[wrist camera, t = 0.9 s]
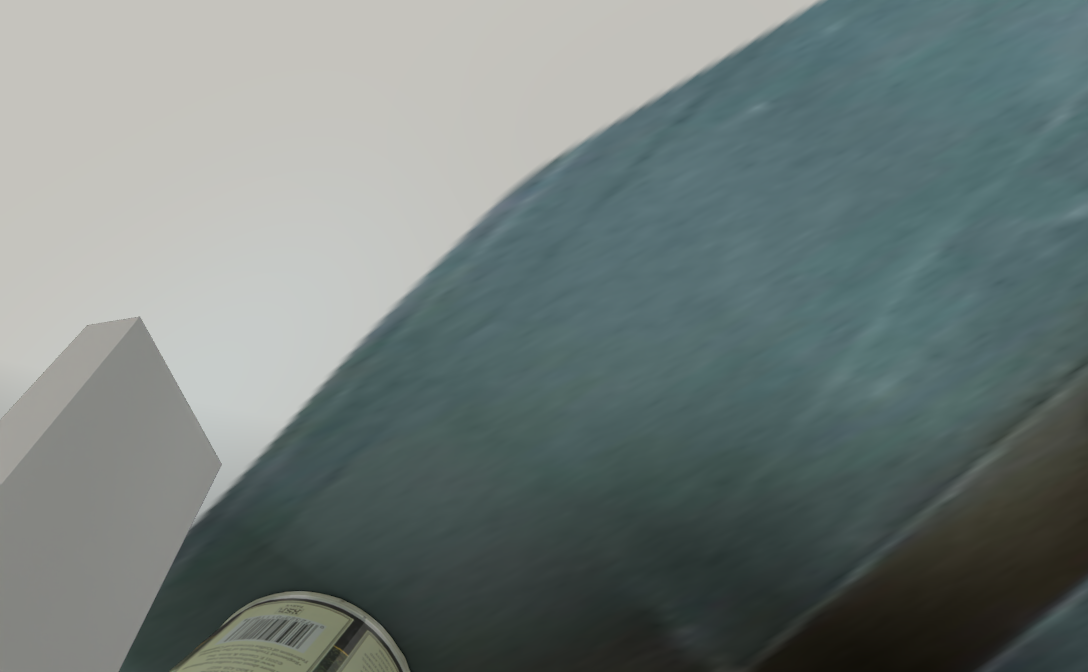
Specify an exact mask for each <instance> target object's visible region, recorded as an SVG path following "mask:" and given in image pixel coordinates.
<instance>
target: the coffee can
mask: <svg viewBox="0 0 1088 672" xmlns="http://www.w3.org/2000/svg"><path fill="white" fill-rule="evenodd" d="M169 672H410V669H409V667H408V664H407V661H406V658H405V657H404V655H403V653H402V652H401V651H400V649H399V648H398V646H397V645H396V643H395V642H394V640H393V639H392V637H391V636H390V635H389V634H388V633H387V631H386V630H385V629H384V628H383V627H382V626H381V625H380V624H379V623H378V622H377V621H376V620H375V619H373V618H372V617H371V616H370V615H369V614H367V613H366V612H364V611H363V610H361V609H360V608H358V607H356V606H355V605H353V604H351V603H349V602H347V601H345V600H343V599H341V598H336V597H333V596H329V595H325V594H321V593H316V592H307V591H290V592H282V593H277V594H273V595H269V596H266V597H263V598H259V599H256V600H254V601H253V602H251V603H249V604H247V605H246V606H244V607H243V608H241V609H239V610H238V611H237V612H235V613H234V614H233V615H232V616H231V617H230V618H229V619H228V620H226V621H225V622H224V624H223V625H222V626H221V627H220V628H219V629H218V630H217V631H215V632H214V633H213V634H212V635H211V636H210V637H209V638H207V639H206V640H204V641H203V642H202V643H201V644H200V645H199V646H198V647H197V648H196V649H195V650H194V651H192V652H191V653H190V654H189V655H188V656H186V657H185V658H184V659H183V660H182V661H180V662H179V663H178V664H177V665H176V666H175V667H173V668H172V669H171V670H170V671H169Z"/></svg>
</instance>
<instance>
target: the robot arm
mask: <svg viewBox="0 0 1088 672" xmlns="http://www.w3.org/2000/svg"><path fill="white" fill-rule="evenodd" d="M220 467H221V462H220V460H219V458H218V457H217V455H216V453H215V451H214V449H213V448H212V446H211V444H210V442H209V441H208V439H207V437H206V435H205V433H204V432H203V430H202V428H201V426H200V424H199V422H198V421H197V419H196V417H195V415H194V413H193V412H192V410H191V408H190V406H189V404H188V403H187V401H186V399H185V397H184V395H183V394H182V392H181V390H180V388H179V386H178V385H177V383H176V381H175V379H174V377H173V375H172V374H171V372H170V370H169V368H168V367H167V365H166V363H165V361H164V359H163V357H162V356H161V354H160V352H159V350H158V349H157V347H156V345H155V343H154V341H153V339H152V338H151V336H150V334H149V332H148V330H147V329H146V327H145V325H144V323H143V321H142V320H141V318H140V317H135V318H129V319H123V320H117V321H110V322H105V323H98V324H92V325H87V326H86V327H85V328H84V329H83V331H82V332H81V333H80V334H79V335H78V336H77V337H76V338H75V339H74V340H73V341H72V342H71V344H70V345H69V346H68V347H67V348H66V349H65V350H64V351H63V352H62V353H61V354H60V356H59V357H58V358H57V359H56V360H55V361H54V362H53V363H52V364H51V365H50V366H49V368H48V369H47V370H46V371H45V372H44V373H43V374H42V375H41V376H40V377H39V378H38V379H37V380H36V382H35V383H34V384H33V385H32V386H31V387H30V388H29V389H28V390H27V391H26V392H25V394H24V395H23V396H22V397H21V398H20V399H19V400H18V401H17V402H16V403H15V405H13V407H12V408H11V409H10V410H9V411H8V412H7V413H6V414H5V415H4V416H3V417H2V418H1V420H0V672H119V670H120V668H121V666H122V664H123V662H124V660H125V658H126V656H127V654H128V652H129V650H130V648H131V646H132V644H133V642H134V640H135V638H136V636H137V634H138V632H139V630H140V628H141V626H142V624H143V622H144V620H145V617H146V615H147V613H148V611H149V609H150V607H151V605H152V603H153V601H154V599H155V597H156V595H157V593H158V591H159V589H160V587H161V585H162V583H163V581H164V579H165V577H166V575H167V573H168V571H169V569H170V567H171V565H172V563H173V561H174V559H175V557H176V555H177V553H178V551H179V549H180V547H181V545H182V543H183V541H184V539H185V537H186V535H187V533H188V531H189V529H190V527H191V525H192V523H193V521H194V519H195V517H196V515H197V513H198V511H199V509H200V507H201V505H202V503H203V501H204V499H205V497H206V495H207V493H208V491H209V489H210V487H211V485H212V483H213V481H214V479H215V477H216V475H217V473H218V471H219V469H220Z"/></svg>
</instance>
